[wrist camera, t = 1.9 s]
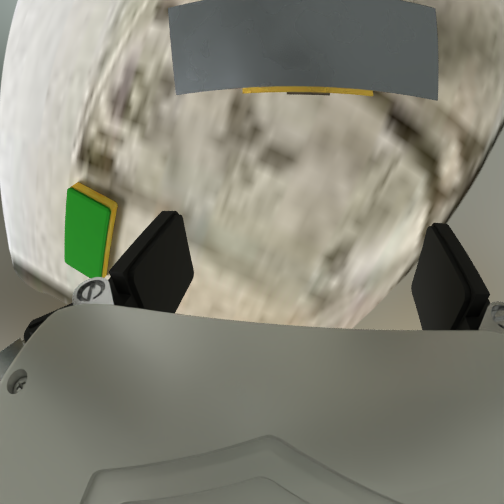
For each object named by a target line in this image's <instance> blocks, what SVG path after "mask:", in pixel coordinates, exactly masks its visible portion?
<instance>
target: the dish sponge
mask: <svg viewBox="0 0 504 504" xmlns="http://www.w3.org/2000/svg"><path fill="white" fill-rule="evenodd" d="M117 207H118V205H117V203H116V202H115V201H113V200H111V199H109V198H107V197H105V196H104V195H102V194H100V193H98V192H96V191H94V190H92V189H90V188H89V187H87V186H85V185H83V184H81V183H79V182H78V183H76V184H74V185H73V186H72V187H70V188H69V189H67V200H66V216H65V262H66V263H67V264H68V265H70V266H71V267H73V268H74V269H76V270H78V271H79V272H81V273H83V274H84V275H86V276H87V277H89V278H94V277H102V278H105V276H106V275H107V268H108V260H109V253H110V246H111V240H112V234H113V228H114V223H115V217H116V212H117Z"/></svg>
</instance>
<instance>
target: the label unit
mask: <svg viewBox="0 0 504 504" xmlns="http://www.w3.org/2000/svg"><path fill="white" fill-rule="evenodd" d="M168 13H169V27H170V39H171V50H172V61H173V70H174V80H175V89H176V95H180V94H187V93H195V92H203V91H212V90H222V89H238V88H242V89H243V93H261V92H287V94H304V95H330V93H341V94H355V95H366V96H373V91H379V92H387V93H397V94H403V95H410V96H416V97H421V98H427V99H432V100H437V101H438V37H437V22H436V11H435V8H432V7H428V6H424V5H420V4H415V3H411V2H406V1H401V0H203V1H198V2H193V3H188V4H184V5H179V6H175V7H171V8H168Z"/></svg>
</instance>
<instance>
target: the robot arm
mask: <svg viewBox="0 0 504 504" xmlns="http://www.w3.org/2000/svg"><path fill="white" fill-rule="evenodd" d="M109 273H110V276H111V277H110V279H109V280H107V279H105V278H102V277H94V278H91V279H88V280H86V281H84V282H83V283H81V284H80V285H79V286H78V287H77V288H76V289H75V291H74V293H73V303H71V304H69V305H67V306H64V307H62V308H60V309H58V310H55V311H53V312H51V313H49V314H46V315H44V316H42V317H39V318H37V319H35V320H33V321H31V323H30V324H29V326H28V327H27V329H26V330H25V333H24V340H22V339H21V338H19V339H17V340H16V341H14V342H13V343H12V344H10V345H9V346H8V347H7V348H5V349H4V350H2V351H1V352H0V504H504V303H503V302H498V301H497V302H492V303H491V304H490V302H489V300H488V297H489V295H490V294H489V291H488V289H487V288H486V286H485V284H484V282H483V280H482V278H481V277H480V275H479V274H478V271H477V270H476V268H475V266H474V265H473V263H472V261H471V260H470V258H469V256H468V255H467V253H466V251H465V250H464V248H463V247H462V245H461V243H460V242H459V240H458V239H457V238H456V236H455V234H454V233H453V231H452V230H451V228H450V227H449V225H448V224H442V223H433V224H432V226H429V227H428V228H427V231H426V235H425V239H424V243H423V247H422V251H421V255H420V258H419V262H418V265H417V269H416V272H415V275H414V279H413V282H412V288H411V289H412V295H413V297H414V301H415V304H416V308H417V311H418V315H419V319H420V322H421V326H422V330H369V329H342V328H323V327H306V326H292V325H278V324H266V323H255V322H244V321H235V320H225V319H216V318H207V317H199V316H191V315H183V314H175V312H176V310H177V308H178V306H179V304H180V302H181V300H182V298H183V296H184V295H185V293H186V291H187V289H188V287H189V285H190V283H191V281H192V279H193V276H194V270H193V265H192V261H191V256H190V251H189V247H188V242H187V237H186V232H185V227H184V222H183V217H182V215H179V214H178V212H177V211H162V212H161V213H160V214H159V215H158V216H157V217H156V218H155V219H154V220H153V221H152V223H151V224H150V225H149V226H148V227H147V228H146V229H145V230H144V231H143V232H142V234H141V235H140V236H139V237H138V238H137V239H136V240H135V241H134V243H133V244H132V245H131V246H130V247H129V248H128V249H127V251H126V252H125V253H124V254H123V255H122V256H121V258H120V259H119V260H118V261H117V262H116V263H115V265H114V266H113V267H112V268H111V269H110V271H109Z"/></svg>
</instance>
